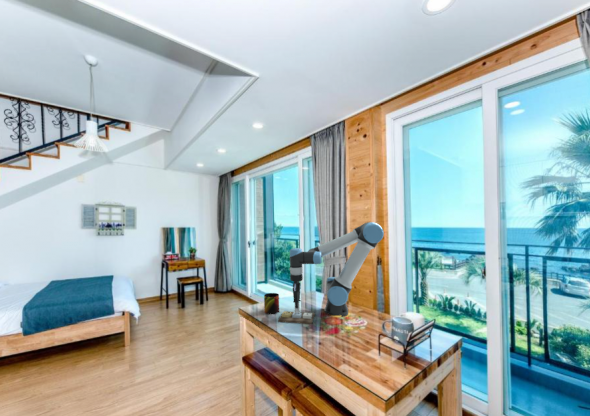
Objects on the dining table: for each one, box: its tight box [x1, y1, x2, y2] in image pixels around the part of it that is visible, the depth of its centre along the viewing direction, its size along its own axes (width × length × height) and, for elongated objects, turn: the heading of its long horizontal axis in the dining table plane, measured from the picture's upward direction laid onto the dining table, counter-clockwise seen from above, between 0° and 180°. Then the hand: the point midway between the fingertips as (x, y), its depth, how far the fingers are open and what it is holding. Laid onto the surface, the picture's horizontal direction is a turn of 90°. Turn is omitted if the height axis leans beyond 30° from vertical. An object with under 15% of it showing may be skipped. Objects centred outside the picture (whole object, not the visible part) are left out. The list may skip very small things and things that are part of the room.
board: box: [277, 310, 316, 325], centre depth 161 cm, size 20×14×2 cm
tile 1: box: [281, 310, 293, 318], centre depth 162 cm, size 5×5×4 cm
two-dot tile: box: [292, 311, 302, 318], centre depth 161 cm, size 5×5×4 cm
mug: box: [263, 292, 280, 315], centre depth 175 cm, size 10×14×12 cm
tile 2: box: [303, 312, 313, 319], centre depth 160 cm, size 5×5×4 cm
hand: (297, 312), depth 161 cm, fingers closed
